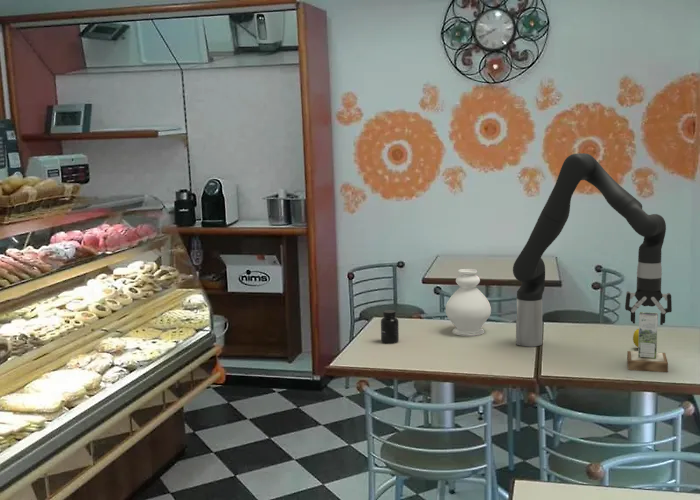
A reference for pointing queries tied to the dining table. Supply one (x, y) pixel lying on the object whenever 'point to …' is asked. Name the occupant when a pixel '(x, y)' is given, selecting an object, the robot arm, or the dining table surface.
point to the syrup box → (648, 335)
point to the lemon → (636, 337)
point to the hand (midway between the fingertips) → (647, 323)
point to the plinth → (647, 362)
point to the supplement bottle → (389, 327)
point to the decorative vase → (468, 305)
